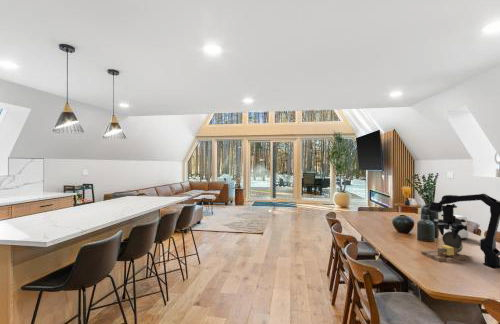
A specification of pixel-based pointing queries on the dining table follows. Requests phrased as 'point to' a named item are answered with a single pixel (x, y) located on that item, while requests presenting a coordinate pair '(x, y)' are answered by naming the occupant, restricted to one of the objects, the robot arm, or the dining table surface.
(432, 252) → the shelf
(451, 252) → the bight saddle
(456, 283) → the dining table surface
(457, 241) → the coffee can
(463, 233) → the milk container
